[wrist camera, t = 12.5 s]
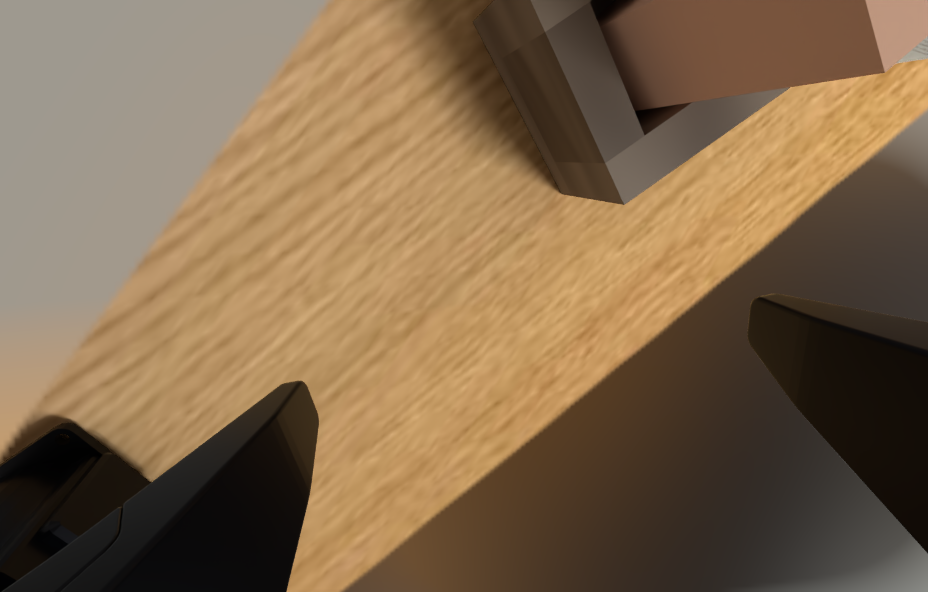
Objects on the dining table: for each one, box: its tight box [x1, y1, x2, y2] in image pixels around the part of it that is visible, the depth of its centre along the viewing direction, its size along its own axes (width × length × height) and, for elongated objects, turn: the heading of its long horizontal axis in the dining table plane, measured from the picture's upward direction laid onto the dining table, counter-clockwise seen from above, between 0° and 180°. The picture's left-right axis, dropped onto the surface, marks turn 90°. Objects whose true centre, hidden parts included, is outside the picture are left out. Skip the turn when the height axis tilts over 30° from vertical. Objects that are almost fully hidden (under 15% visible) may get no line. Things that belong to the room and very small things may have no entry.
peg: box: [596, 0, 928, 111], centre depth 14 cm, size 3×3×11 cm
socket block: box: [473, 0, 790, 205], centre depth 17 cm, size 8×8×5 cm
